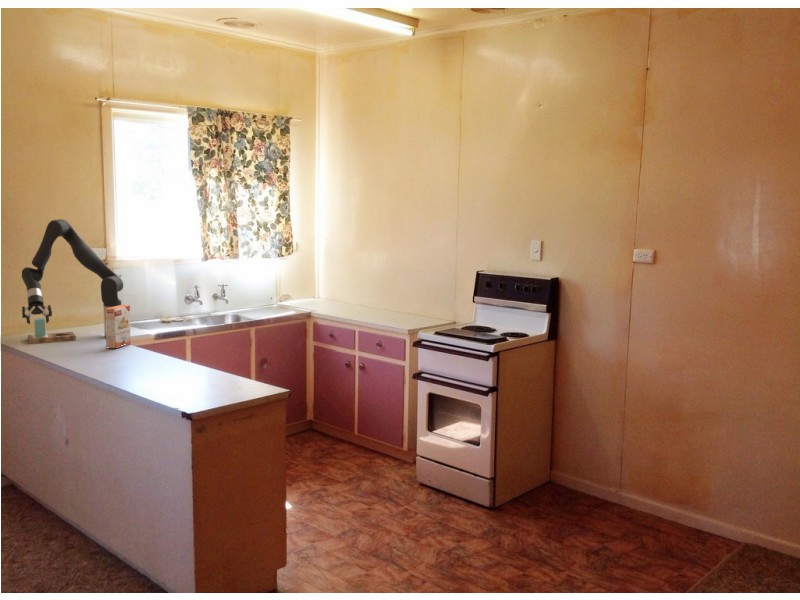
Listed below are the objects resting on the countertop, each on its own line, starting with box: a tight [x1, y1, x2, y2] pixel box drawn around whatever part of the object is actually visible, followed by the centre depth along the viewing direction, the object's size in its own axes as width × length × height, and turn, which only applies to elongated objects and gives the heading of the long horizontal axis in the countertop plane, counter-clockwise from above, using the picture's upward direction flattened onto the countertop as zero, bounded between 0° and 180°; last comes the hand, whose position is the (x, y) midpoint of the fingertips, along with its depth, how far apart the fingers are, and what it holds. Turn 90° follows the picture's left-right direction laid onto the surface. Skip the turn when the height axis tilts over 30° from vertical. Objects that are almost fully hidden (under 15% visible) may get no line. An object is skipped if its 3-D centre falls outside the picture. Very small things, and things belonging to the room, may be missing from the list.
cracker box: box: [105, 304, 132, 349], centre depth 376 cm, size 14×6×21 cm, turn 168°
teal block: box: [33, 317, 46, 337], centre depth 382 cm, size 4×4×9 cm
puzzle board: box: [27, 331, 77, 345], centre depth 386 cm, size 22×12×3 cm, turn 121°
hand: (38, 322), depth 386 cm, fingers open, 8 cm apart
